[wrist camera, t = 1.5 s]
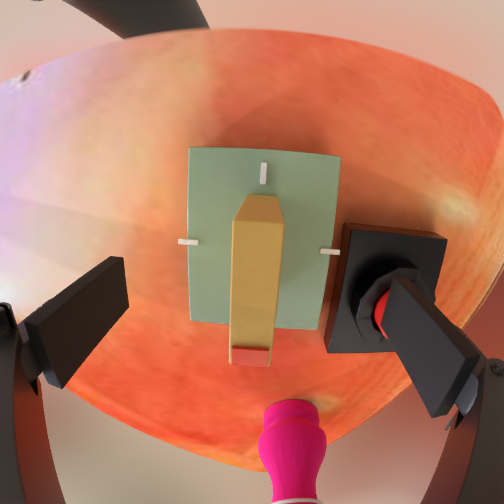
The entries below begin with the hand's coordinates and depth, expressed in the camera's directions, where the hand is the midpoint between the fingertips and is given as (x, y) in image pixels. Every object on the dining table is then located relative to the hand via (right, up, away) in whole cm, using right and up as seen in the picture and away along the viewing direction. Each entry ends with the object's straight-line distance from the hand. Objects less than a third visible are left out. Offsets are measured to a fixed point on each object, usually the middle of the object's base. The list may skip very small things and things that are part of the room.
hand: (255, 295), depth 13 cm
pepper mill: (+4, -17, +16) cm, 24 cm away
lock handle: (0, +2, +6) cm, 7 cm away
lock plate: (0, +3, +9) cm, 10 cm away
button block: (+11, -1, +10) cm, 15 cm away
